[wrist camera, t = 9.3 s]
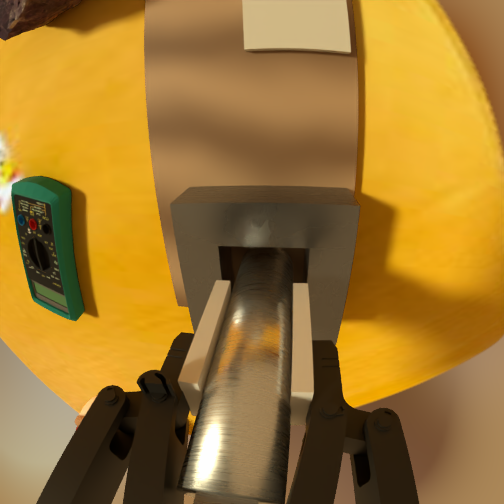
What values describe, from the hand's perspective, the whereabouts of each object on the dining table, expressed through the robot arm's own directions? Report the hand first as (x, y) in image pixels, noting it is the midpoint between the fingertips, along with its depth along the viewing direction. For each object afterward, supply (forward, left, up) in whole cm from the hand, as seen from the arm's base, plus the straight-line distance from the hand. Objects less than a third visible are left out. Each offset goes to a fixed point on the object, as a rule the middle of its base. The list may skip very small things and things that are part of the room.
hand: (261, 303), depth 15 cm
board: (-8, -1, -6) cm, 10 cm away
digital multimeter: (0, -22, -6) cm, 22 cm away
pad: (-17, +2, -5) cm, 18 cm away
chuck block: (0, 0, -5) cm, 5 cm away
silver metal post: (0, 0, -4) cm, 4 cm away
